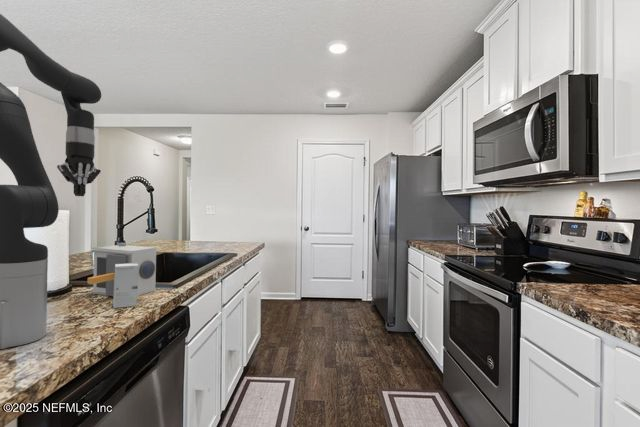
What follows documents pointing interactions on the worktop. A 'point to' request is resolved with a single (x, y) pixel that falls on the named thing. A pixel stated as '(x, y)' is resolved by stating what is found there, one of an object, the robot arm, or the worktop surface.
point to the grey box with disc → (133, 255)
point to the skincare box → (125, 285)
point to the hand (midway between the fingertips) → (79, 196)
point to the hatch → (108, 273)
